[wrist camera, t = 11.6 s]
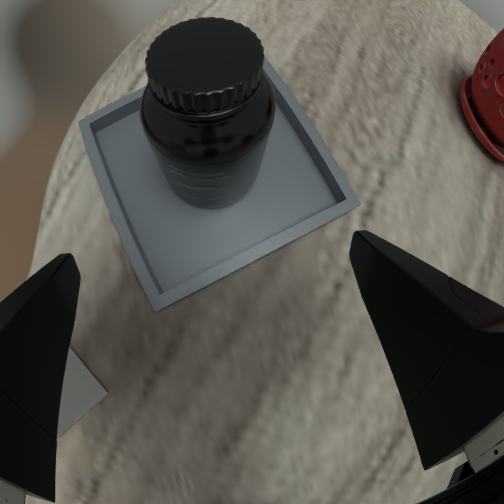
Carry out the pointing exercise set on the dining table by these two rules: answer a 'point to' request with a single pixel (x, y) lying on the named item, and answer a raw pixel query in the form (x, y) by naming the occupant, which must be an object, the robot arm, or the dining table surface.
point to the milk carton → (77, 393)
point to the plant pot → (487, 98)
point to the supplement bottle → (208, 109)
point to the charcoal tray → (218, 218)
